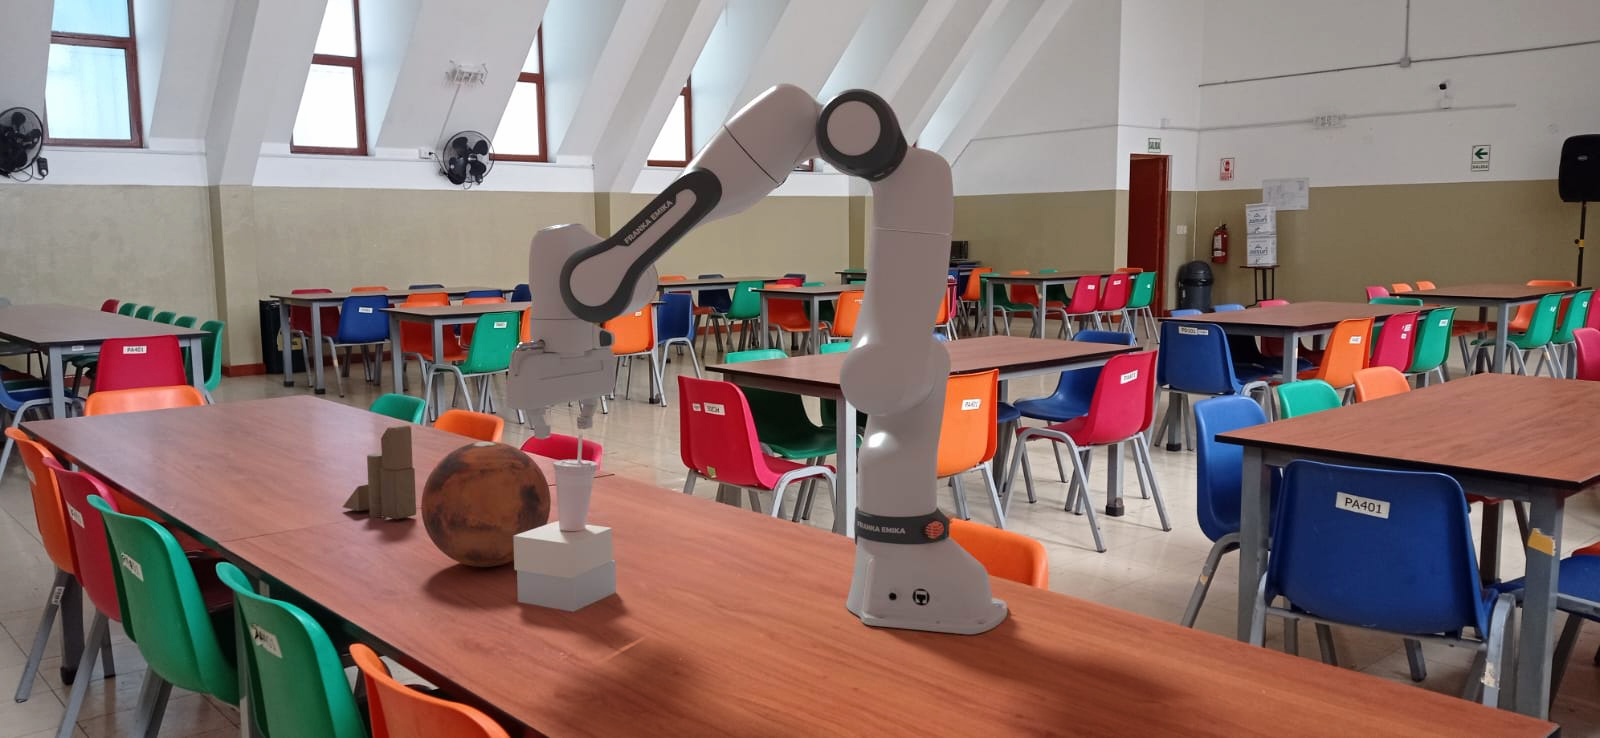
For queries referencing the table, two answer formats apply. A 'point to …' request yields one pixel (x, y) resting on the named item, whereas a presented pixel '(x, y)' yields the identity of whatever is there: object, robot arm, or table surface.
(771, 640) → the table surface
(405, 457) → the wooden block set
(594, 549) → the tower top block
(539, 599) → the tower base block
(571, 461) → the smoothie
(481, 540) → the planet model
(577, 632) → the table surface
